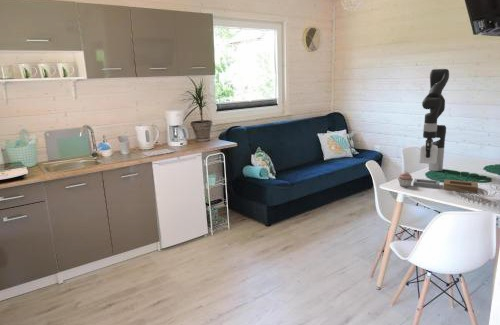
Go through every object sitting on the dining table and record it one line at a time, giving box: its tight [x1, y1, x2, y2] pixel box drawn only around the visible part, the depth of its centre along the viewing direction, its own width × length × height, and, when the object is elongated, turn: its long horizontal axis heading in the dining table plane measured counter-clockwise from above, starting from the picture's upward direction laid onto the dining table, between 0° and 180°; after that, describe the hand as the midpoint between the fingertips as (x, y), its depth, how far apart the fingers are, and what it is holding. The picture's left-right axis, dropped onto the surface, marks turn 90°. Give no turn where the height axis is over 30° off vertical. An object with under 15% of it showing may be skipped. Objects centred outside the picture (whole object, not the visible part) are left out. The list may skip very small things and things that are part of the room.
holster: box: [412, 178, 441, 189], centre depth 232 cm, size 8×14×2 cm, turn 59°
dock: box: [442, 179, 479, 194], centre depth 222 cm, size 11×18×4 cm, turn 59°
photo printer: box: [418, 143, 438, 165], centre depth 228 cm, size 10×4×12 cm, turn 67°
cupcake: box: [397, 170, 414, 188], centre depth 232 cm, size 9×9×10 cm
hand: (428, 156), depth 228 cm, fingers closed on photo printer, 4 cm apart
